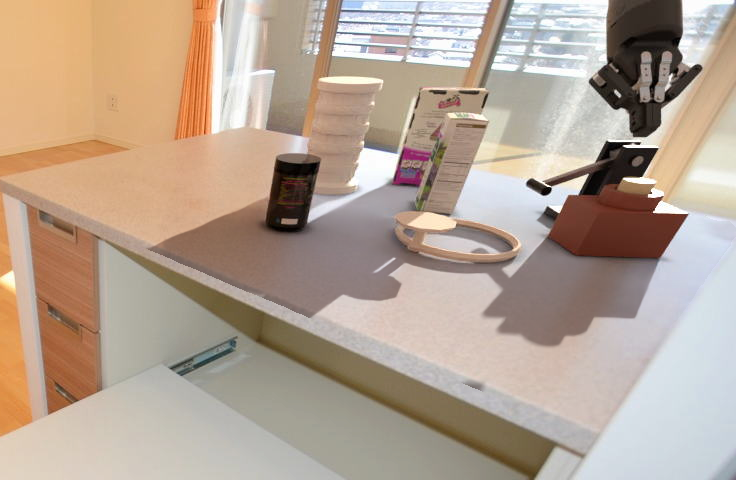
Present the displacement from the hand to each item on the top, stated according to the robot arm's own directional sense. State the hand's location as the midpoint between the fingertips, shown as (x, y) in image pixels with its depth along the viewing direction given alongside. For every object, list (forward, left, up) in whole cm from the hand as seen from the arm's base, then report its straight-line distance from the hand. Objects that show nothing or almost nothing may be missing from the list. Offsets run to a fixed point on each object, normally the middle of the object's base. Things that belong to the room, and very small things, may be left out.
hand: (645, 133), depth 74 cm
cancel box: (0, +4, -14) cm, 15 cm away
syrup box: (+18, -13, -15) cm, 27 cm away
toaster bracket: (-4, -7, -14) cm, 17 cm away
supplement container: (+45, -1, -15) cm, 47 cm away
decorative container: (+34, -26, -15) cm, 45 cm away
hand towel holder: (+22, +5, -15) cm, 27 cm away
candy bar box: (+15, -29, -15) cm, 36 cm away
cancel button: (0, +4, -7) cm, 8 cm away
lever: (0, -7, -8) cm, 11 cm away
